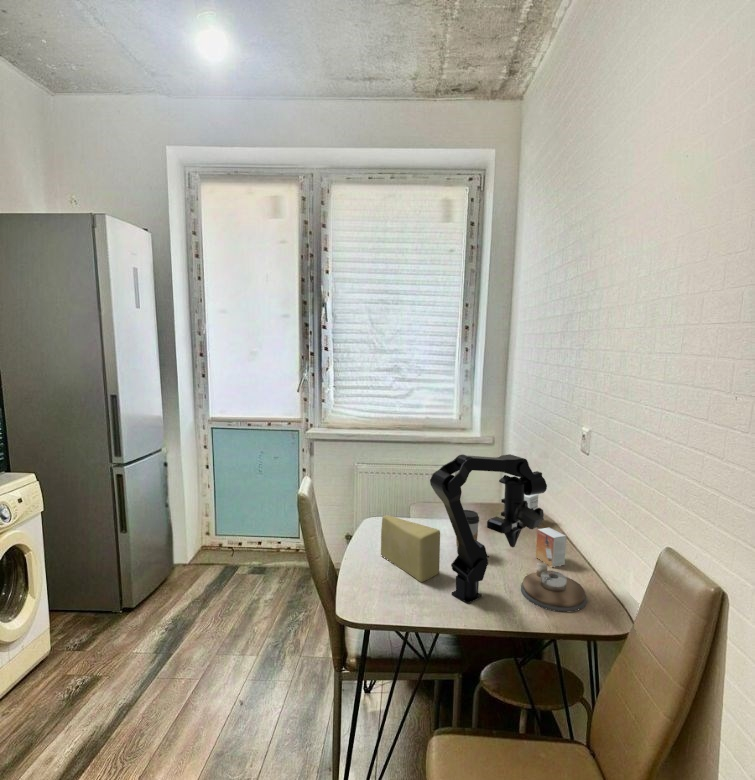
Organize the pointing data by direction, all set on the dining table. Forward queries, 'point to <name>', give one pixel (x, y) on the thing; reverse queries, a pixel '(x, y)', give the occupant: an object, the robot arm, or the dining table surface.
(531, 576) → the lazy susan
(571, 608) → the turntable base
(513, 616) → the dining table surface
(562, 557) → the small box
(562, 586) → the cast cover
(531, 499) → the supplement box
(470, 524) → the coffee cup
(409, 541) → the cheese
